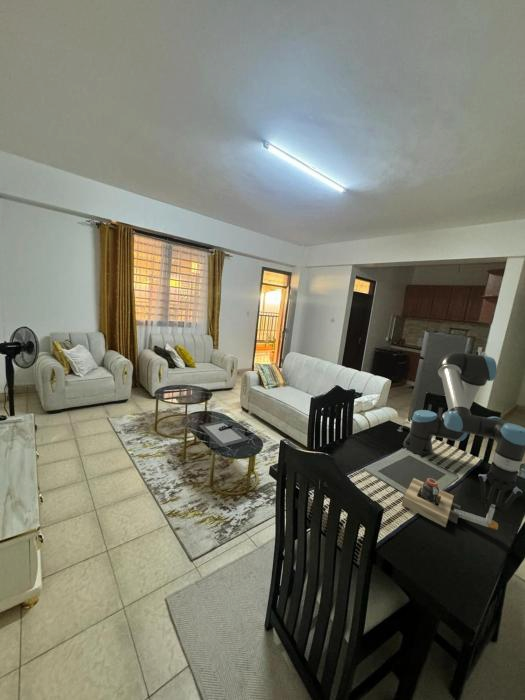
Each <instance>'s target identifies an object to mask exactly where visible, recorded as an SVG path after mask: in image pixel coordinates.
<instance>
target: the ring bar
mask: <svg viewBox="0 0 525 700" xmlns="http://www.w3.org/2000/svg"><path fill="white" fill-rule="evenodd" d="M454 511H455V512H457V513H459V517H458V518H460V519H463V520H466V521H469V522H471V523H475V524H477V525H480V526H484V527H486V528H489V529H491V530H494V531H495V530H499V523H498V522H496V521H495V520H493V519H492V521H491V524H489V523H487V522H486V517H483V516H479V515H476V514H474V513H471V512H467V511H464V510H461V509H460V510H459V509H456V508H454Z"/></svg>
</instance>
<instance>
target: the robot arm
mask: <svg viewBox="0 0 525 700" xmlns="http://www.w3.org/2000/svg"><path fill="white" fill-rule="evenodd" d="M497 367H498V364H497V362H496V360H495V358H493V357H491V356H486V355H483V354H482V355H480V354H474V353H473V354H472V353H466V352H465V353H464V352H459V351H458V352H457V351H456V352H451V353H448V354H446V355H445V356H443V357H442V358H441V359H440V361H439V362H438V365H437V374H438V376H439V377H440V378H441V382H442V386H443V391H444V395H445V400H446V405H447V408H448V409H447V411H445V412H443V413H442V416H439V415H438V413H436V412H434V411H431V410H426V409H419V410H416V411H414V412H413V415H412V418H411V423H410V424H411V425H410V429H409V433H408V434H407V436H406V438H405V439H404V441H403V447H404V448H405V449H406V450H408V451H410V452H411V453H414V454H417V455H419V456H426V457H427V456H431V455H432V454H433V451H434V449H433V443H432V438H433V437H437V438H442V439H446V440H450V441H455V442H456V441H457V442H461V441H464V440H465V439H466V438H467V436H468V435H469V434H470V435H475V436H479V437H484V438H489V439H492V440H494V441H495V442H496V447H495V450H494V453H493V456H492V462H491V464H490V467H489V471H487V473H485V474H482V473H479V474H478V479H479V482H480V501H481V502H483V503H485V507H484V513H486V517H485V518H486V522H487V523H489V524H491V521H492V520H493V517H498V514H499V512H500V511H501V510H502V511H504V512H506V511H507V510H508V509H509V508H510V506H512V505H513V503H514V501H516V499H517V498H519V497H521V496H523V489H521V488H519V487H518V486H517V484H516V481H517V479H518V475H519V471H520V468H521V465H522V461H523V459H524V456H525V427H523V426H521V425H518V424H515V423H509V422H507V421H505V420H503V418H501V417H499V416H489V417H485V416H479V415H475V414H472V412H471V410H470V409H471V407H472V405H473V402H474V401H475V398H476V396H477V395H478V392H479V390H480V388H481V387H484V386H485V385H486V384H487V382H492V381H494V380H495V379H496V376H497V371H498V368H497ZM486 481H488V482H489V484H490V490H489V493H488V495H486ZM497 489H498V490H499V491H498V495H497V499H496V502H495V504H492V503H493V499H494V496H495V493H496V490H497ZM507 491H511V494H510V495H509V496H508V497H507V498H506V500H505V501H504V502H503V499H504V498H505V497H504V496H505V494H506V492H507ZM486 496H487V497H486ZM502 502H503V504H502Z"/></svg>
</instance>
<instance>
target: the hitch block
mask: <svg viewBox="0 0 525 700" xmlns="http://www.w3.org/2000/svg"><path fill="white" fill-rule="evenodd" d="M424 482H425V481H422V480H419V479H418V478H417V479H416V478H415V477H413V479H412V480H411V482H410V484H409V486H408V488H407V490H406V492H405V493H404V495H403V496H402V497H403V499H402V503H401V505H402V506H403V507H404V508H407V509H408V510H411V511H412V510H413V512H414V511H415V512H414V513H416V512H417V513H416V514H418V513H419V514H418V515H421V516H423V517H424V518H427V519H428V520H430V521H432V522H434V523H436V524H438V525H440V526H442V527H444V528H447V524H448V521H450V522H452V523H454V524H458V520H459V518H460V517H459V513H457V512H455V511H454V508H456V509H459V510H461V505H459V504H457V503H454V502H453V500H454V497H455V495H453V494H451V493H448V492H447V491H444V490H441V489H439V492H438V497H437V501H436V504H437V505H435V504H432V503H430V502H428V501H426V500H424V499H422V498H420V495H421V491H422V487H423V483H424Z"/></svg>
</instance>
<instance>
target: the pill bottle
mask: <svg viewBox="0 0 525 700" xmlns="http://www.w3.org/2000/svg"><path fill="white" fill-rule="evenodd" d="M423 482H424V483H423V487H422V491H421V496H420V495H419V497H420V498H422V499H424V500H426V501H428V502H430V503H432V504H435V505H436V504H437V503H436V501H437V497H438V492H439V487H438V485H439V483H438V481H437V480H436V479H434V478H430V477H428V478H427V479H426V481H423Z"/></svg>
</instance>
